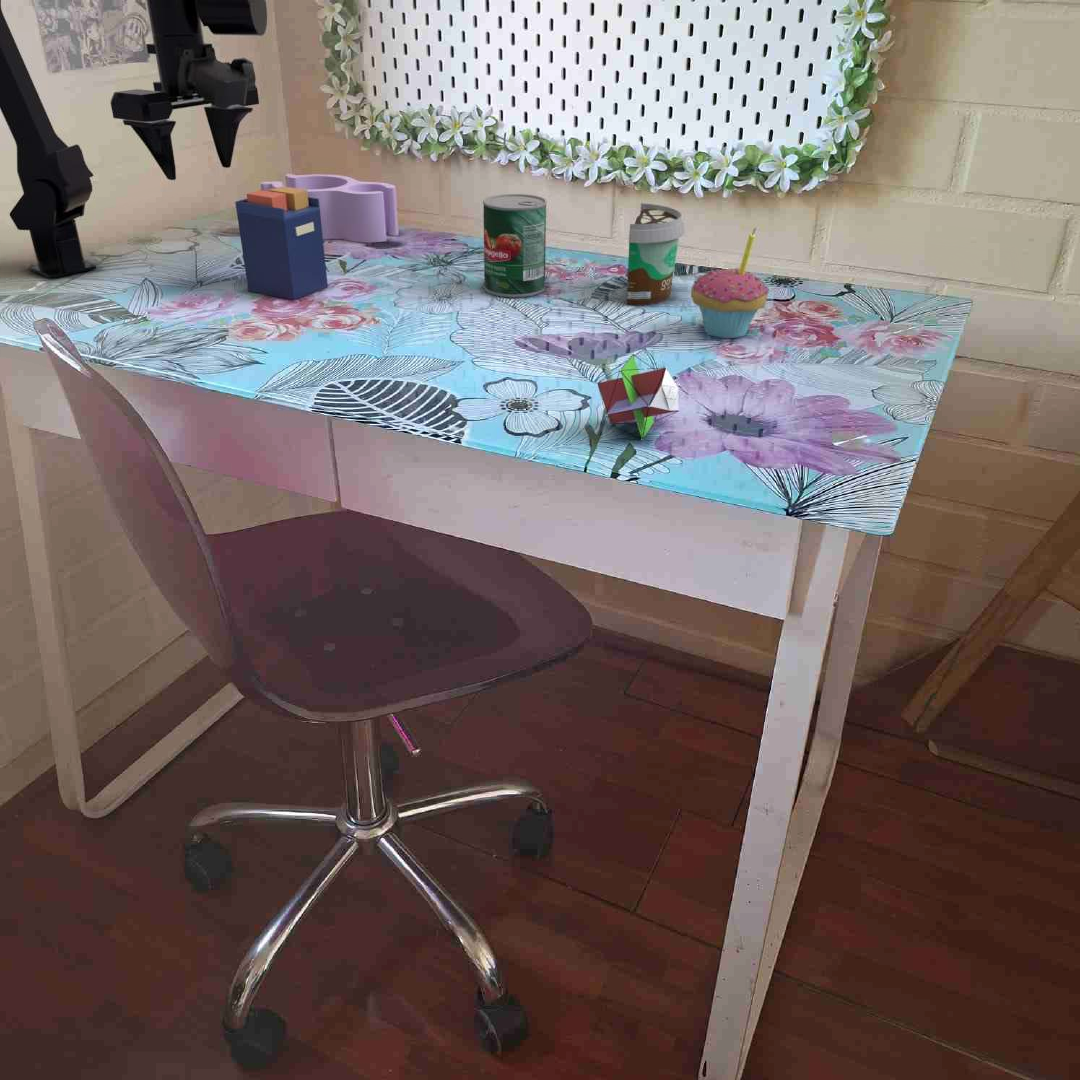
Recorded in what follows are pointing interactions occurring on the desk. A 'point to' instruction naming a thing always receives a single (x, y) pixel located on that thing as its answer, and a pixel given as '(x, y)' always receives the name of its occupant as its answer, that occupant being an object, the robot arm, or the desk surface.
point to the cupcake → (729, 298)
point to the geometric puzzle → (639, 396)
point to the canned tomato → (514, 245)
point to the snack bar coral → (268, 199)
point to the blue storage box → (282, 249)
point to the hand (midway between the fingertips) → (199, 173)
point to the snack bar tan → (293, 197)
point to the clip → (348, 205)
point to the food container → (653, 254)
